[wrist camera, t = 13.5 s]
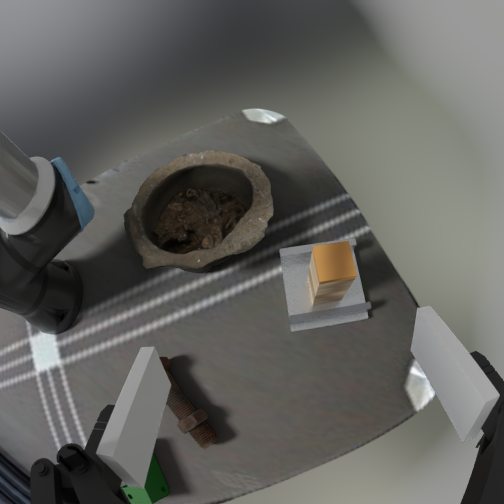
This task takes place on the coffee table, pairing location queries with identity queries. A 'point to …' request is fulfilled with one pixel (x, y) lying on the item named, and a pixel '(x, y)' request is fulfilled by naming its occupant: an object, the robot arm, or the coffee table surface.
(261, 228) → the stone bowl
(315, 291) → the block
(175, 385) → the bolt
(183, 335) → the coffee table surface
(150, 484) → the green notched mounting bracket
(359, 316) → the keeper bracket
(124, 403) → the robot arm
